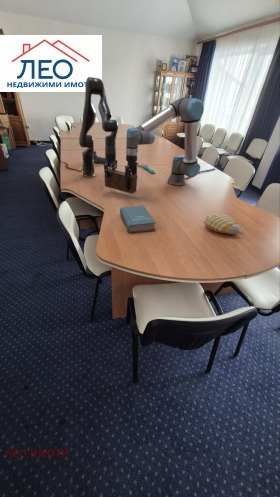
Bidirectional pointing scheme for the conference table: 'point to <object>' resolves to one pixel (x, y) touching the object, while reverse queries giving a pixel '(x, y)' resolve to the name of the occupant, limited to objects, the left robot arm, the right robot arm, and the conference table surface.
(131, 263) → the conference table surface
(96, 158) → the laser sight
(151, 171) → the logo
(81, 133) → the left robot arm
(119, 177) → the box
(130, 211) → the book
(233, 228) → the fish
